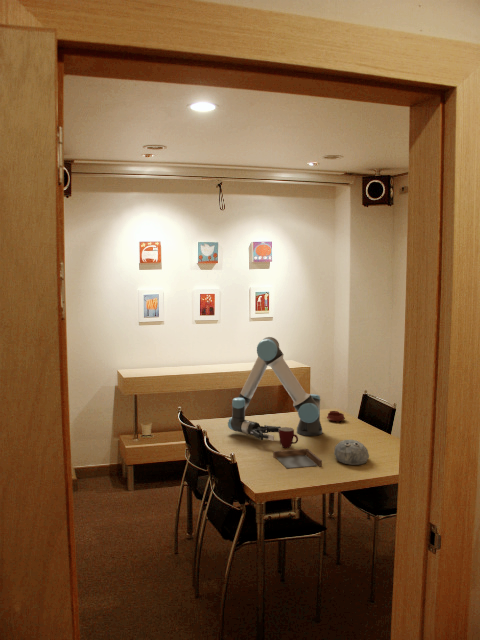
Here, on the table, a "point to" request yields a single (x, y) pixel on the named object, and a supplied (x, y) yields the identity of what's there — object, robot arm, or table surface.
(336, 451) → the decorative stone
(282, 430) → the mug
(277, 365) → the robot arm
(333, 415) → the pottery
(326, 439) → the table surface
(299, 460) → the tray
